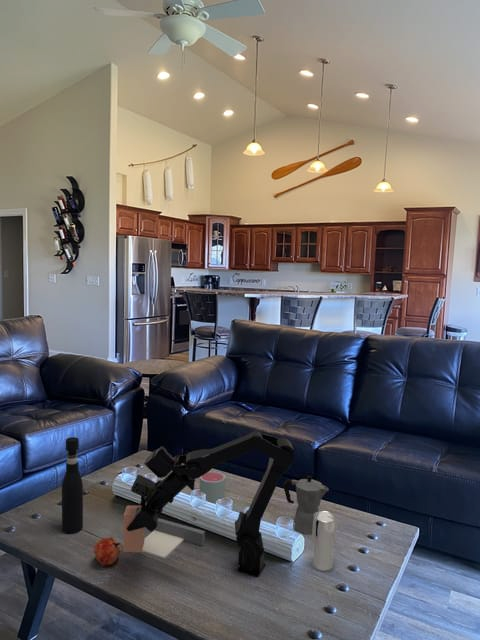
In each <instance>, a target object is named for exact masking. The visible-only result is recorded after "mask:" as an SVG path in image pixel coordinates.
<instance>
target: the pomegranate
mask: <svg viewBox="0 0 480 640" xmlns="http://www.w3.org/2000/svg"><path fill="white" fill-rule="evenodd" d="M120 545H122V543H121V542H117V540H116V539H115V538H114V537H104V538H101V539H100V540H98V541H97V543H96V544H95V545H94V547H93V553H94V555H95V558H93V559H94V561H95V560H97V561H98V562H99V563H100V564H101V565H102V566H110V565H113V564H114V563H116V561H117V560H118V559H119V557H120V555H121V551H122V548H121V546H120Z"/></svg>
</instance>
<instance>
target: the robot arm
mask: <svg viewBox="0 0 480 640" xmlns="http://www.w3.org/2000/svg"><path fill="white" fill-rule="evenodd" d="M254 450H255V451H258V452H260V453H262V454H263V455H265V456H267V457H268V458H269V460H268V466H267V468H266V470H265V473H264V474H263V477H262V479H261V481H260V484H259V485H258V488H257V489H256V492H255V495H254V497H253V499H252V501H251V503H250V506H249V508H248V509H247V510H246V511H245V512H242V511H239V513H238V517H237V519H236V520H235V521H234V530H235V532H234V533H235V534H234V535H235V541H236V544H237V545H238V547H239V551H238V555H237V556H238V557H237V558H238V559H237V561H238V562H237V565H238V567H237V569H236V571H237V572H239V573H242V574H246V575H249V576H253V577H255V578H258V577H259V576H260V575H261V573H262V572H263V570H264V568H265V567H266V563H265V560H264V559H265V547H264V542H263V537H262V536H263V535H262V533H261V531H260V529H261V522H262V518H263V516H264V514H265V511H266V510H267V508H268V504H269V503H270V501H271V498H272V496H273V494H274V492H275V489H276V487H277V485H278V483H279V481H280V479H281V477H282V476H283V475H284V474H285V473H286V472H287V471H288V470H289V469H290V467H291V466H292V464H293V463H294V462H295V459H296V452H295V450H294V447H293V445H292V442H291V441H290V440H289V439H287V438H284V437H280V438H279V437H276V436H273V435H271V434H267V433H262V432H260V431H256V430H255V431H252V432H250V433H248V434H246V435H243V436H241V437H237V438H235V439H233V440H231V441H229V442H225V443H223V444H221V445H218V446H216V447H213V448H202V449H197V450H193V451H192V450H191V451H190V452H188V453H187V454H180V455H175V456H174V457H173V455H172V454H170V453H169V452H168V451H167V449H166V448H165V447H164V446H163V445H161V446H160V447H159V448H157V449H156V450H153V451H151V453H150V454H149V455H148V456H147V457H146V459H145V461H144V462H143V465H145V466H146V468H148V469H149V471H151V473H152V474H154V475H155V476H156V478H160V479H158V480H157V481H156V482H155V481H153V480H152V479H150V478H148V477H145V476H143V475H141V474H137V475H136V477H135V479H134V481H133V483H132V486H131V488H130V491H131V492H132V493H134V494H136V495H138V496H140V503H139V504H138V506H141V507H140V508H138V507H137V510H136V515H135V518H134V519H133V520H132V522H131V523H130V524H129V526H128V527H127V530H128V531H133V530H136V529H140V528H144V527H146V528H147V529H148V530H149V531H150V532H152V531H153V530H154V529H155V528H156V527H157V524H158V518H159V515H158V514H157V513H156V512H158V513H159V514H161V513H162V512H163V510H164V507H166V506H167V505H168V504H170V505H171V504H172V503H173V502H174V499H175V497H176V496H178V495H179V494H180V493H181V492H182V491H183V490H184V489H185V488H186V487H188V488H189V490H191V491H194V490H195V482H196V479H200V477H201V476H202V475H204V474H206V473H207V472H211V470H213V469H214V468H215V467H216V466H218V465H219V464H222V463H225V462H226V461H230V460H232V459H235V458H238V457H239V456H243V455H244V454H247V453H250V452H252V451H254Z"/></svg>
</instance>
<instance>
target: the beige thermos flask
mask: <svg viewBox="0 0 480 640" xmlns="http://www.w3.org/2000/svg"><path fill="white" fill-rule="evenodd" d="M337 523H338V522H337V516H336V514H334V513H333V512H330V511H327V510H320V511H319V510H318V512H316V513H315V514H314V518H313V526H312V534H311V536H312V545H313V557H312V560H311V565H312V567H313V568H314V569H316V570H317V571H320V572H328V571H331V570H332V569H333V567H334V564H333V563H334V562H333V551H334V548H335V547H334V546H335V543H336V538H337Z"/></svg>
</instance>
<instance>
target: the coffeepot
mask: <svg viewBox="0 0 480 640" xmlns="http://www.w3.org/2000/svg"><path fill="white" fill-rule="evenodd" d="M289 486H292V487H295V492H296V493H295V494H296V502H297V507H296V510H295V511H296V512H295V516H294V519H293V523H295V528H294V530H295V531H296V532H298V531H299V532H298V533H300V534H304V535H312V526H313V518H314V514H315V513H316V512H318V511H319V506H321V500H322V499H323V497H324V495H325V494H326V493H327V492H330V491H329V490H330V489H329V487H327V486H325V485H324V484H323V483H322V482H320V481H318V480H315V479H313V477H312V475H307V476H306V478H301V479H299V480H296V479H289V478H288V479H286V480H285V481H284V482H283V484H282V487H283V490H284V494H285V499H286V501H287V503H289V504H292V505H293V504H294V503H295V501H294V500H292V499H291V494H290V493H291V492H290V488H289Z"/></svg>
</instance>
